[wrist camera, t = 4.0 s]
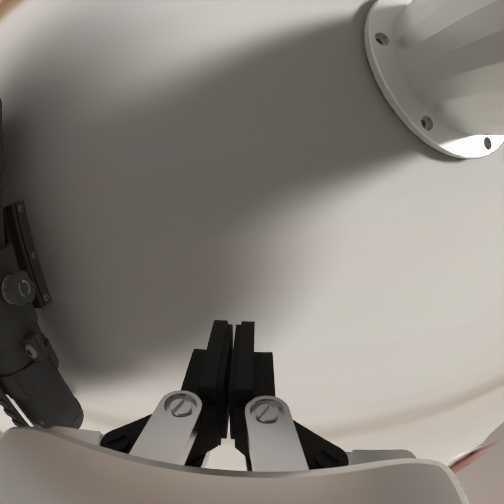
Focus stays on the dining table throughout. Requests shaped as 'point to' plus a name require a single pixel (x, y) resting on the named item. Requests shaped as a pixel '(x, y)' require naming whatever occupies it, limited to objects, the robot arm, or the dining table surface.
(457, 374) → the dining table surface
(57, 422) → the rifle scope
